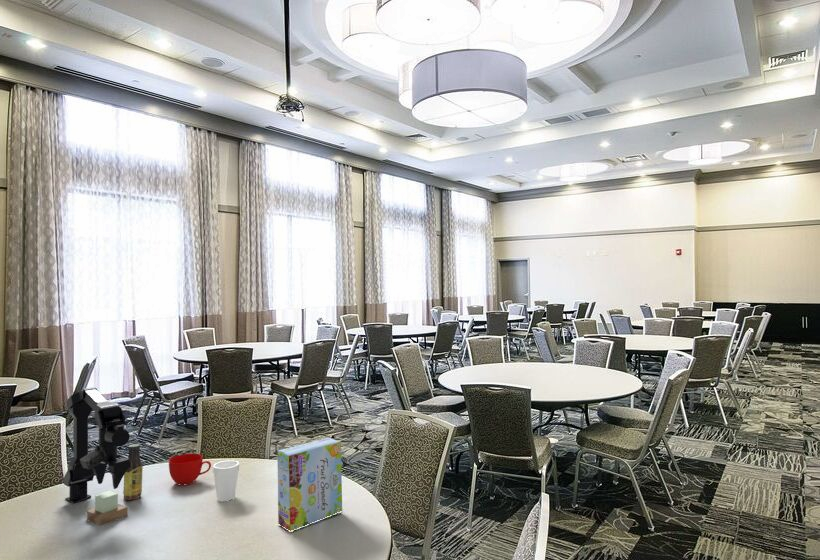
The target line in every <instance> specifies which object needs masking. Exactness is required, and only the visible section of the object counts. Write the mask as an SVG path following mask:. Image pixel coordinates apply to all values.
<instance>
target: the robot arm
mask: <svg viewBox="0 0 820 560" xmlns="http://www.w3.org/2000/svg"><path fill="white" fill-rule="evenodd" d="M66 407H67V412H68V413H69V415H70V416H71V417H72V418H73V419H72V420H73V421H72V422H73V425H72V426H73V435H72V436H73V437H72V438H73V445H72V446H73V447H72V448H73V449H72V451H73V453H72V454H73V457H72V458H71V460H70V461H69V463H68V466H67V471H66V472H65V475H64V476H63V485H64V486H66V487H68V488H69V496H68V497H65V498H64V500H65V501H67V502H70V503H73V504H75V503H79V502H81V501H84V500H87V499H89V498H91V497H92V495H91V494H88V482H93V480H94V477H95V478H96V481H97V484H99V485H100V484H101V485H102V483H103V481H104V479H105V475H106V471H107V468H108V471H107V472H108V473H109V474H111V478H112V479H111V480H112V487H113V489H114V490H116V489H117V488H119V485H120V483H121V481H122V479H124V474H125V472H126V471H127V469H129V468H130V467H131V466H132V461H131V460H129V459H128V458H126V457H122V458H121V455H120V454H119V453H118V447H123V446H125V445H126V444H128V443H129V440H130V438H131V437H130V432H129V431H128V430H127V429H124V425H126V424H127V423H126V420H127V419H126V416H125V414H124V411H123V409H122V407H121V406H120V405H119V404H118V403H116V402H113V401H108V400H107V399H106V398H105V397H104V396H103V395H102V394H101V393H100V392H99V391H98V389H97V387H85V388H82V389H80V390H79V391H78V392H76V393H72V394H71V395H70V396H69V397H68V398H67V401H66ZM93 411H94V419H95V421H96V423H97V428H98V444H96V445H95V447H94V450H93V451H92V452H89V417H90V415H91V414H92V412H93Z"/></svg>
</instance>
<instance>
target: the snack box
mask: <svg viewBox="0 0 820 560" xmlns="http://www.w3.org/2000/svg"><path fill="white" fill-rule="evenodd" d="M342 480H343V479H342V442H341V441H340V440H337V439H334V438H332V437H326V438H322V439H318V440H315V441H310V442H306V443H301V444H299V445H295V446H291V447H287V448H282V449H278V450H277V510H278V511H277V513H278V517H277V518H278V519H277V520H278V521H277V523H278V524H280V525H281V526H283V527H285V528H286V529H288V530H290V531H291V530H294V529H297V528H299V527H302V526H305V525H307V524H310V523H312V522H315V521H317V520H320V519H323V518H325V517H327V516H330V515H333V514H335V513H337V512H340V511H342V512H343V489H342V488H343V487H342V486H343V484H342V483H343V481H342Z"/></svg>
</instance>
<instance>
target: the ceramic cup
mask: <svg viewBox="0 0 820 560" xmlns="http://www.w3.org/2000/svg"><path fill="white" fill-rule="evenodd" d="M203 459H204V457H203V455H202V454H200V453H183V454H177V455H175V456H172V457H170V458H169V459H168V470H169V475H170V478H171V479H172V480H173V481H174V483H176V485H177V484H180V485H179V486H182V485H183V486H185V485H184V484H189V485H191V484H190V483H192V484H194V483H195V481H196V480H197V479H198V478H199V476H200V475H201V476H202V475H204V474H206V473H208V472H209V471H210V470H211V468H212V463H211V461H208V460H205V461H203ZM204 464H208V468H207V469H206V470H205V471H202V468H203V465H204ZM193 482H194V483H193Z"/></svg>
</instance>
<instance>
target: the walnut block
mask: <svg viewBox="0 0 820 560" xmlns="http://www.w3.org/2000/svg"><path fill="white" fill-rule="evenodd" d="M128 508H129V507H128V506H126V505H123V504H120V503H118V508H116V509H113V510H111V511H108V512H105V513H101V512H99V511H96V510H95V507H94V508H91V509H89V510H86V521H87V522H91V523H93V524H96V525H98V526H101V527H102V526H105V525H108V524H110V523H112V522H115V521H117V520H120V519H123V518H125V517H127V516H128V513H129V512H128V511H129V509H128Z"/></svg>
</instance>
